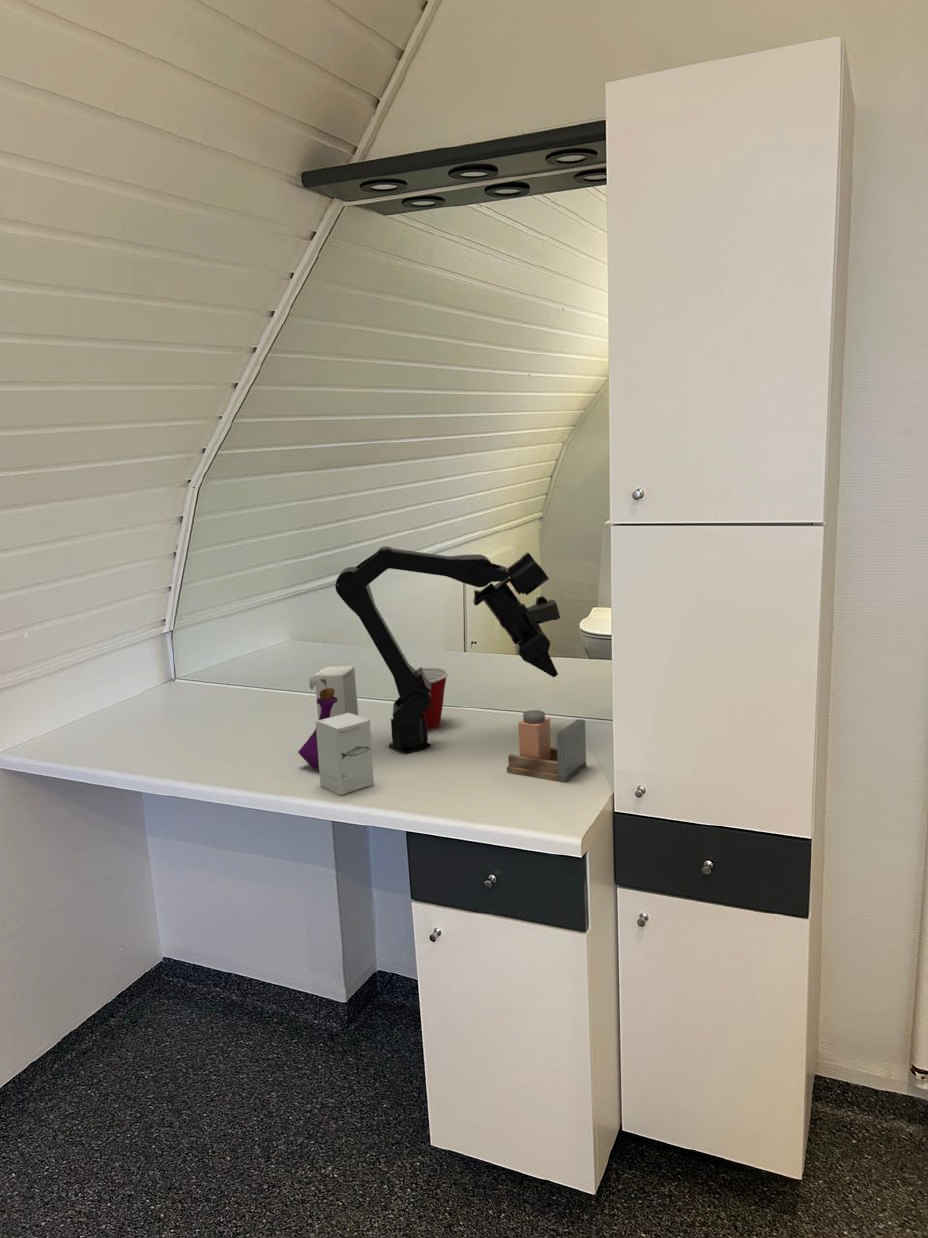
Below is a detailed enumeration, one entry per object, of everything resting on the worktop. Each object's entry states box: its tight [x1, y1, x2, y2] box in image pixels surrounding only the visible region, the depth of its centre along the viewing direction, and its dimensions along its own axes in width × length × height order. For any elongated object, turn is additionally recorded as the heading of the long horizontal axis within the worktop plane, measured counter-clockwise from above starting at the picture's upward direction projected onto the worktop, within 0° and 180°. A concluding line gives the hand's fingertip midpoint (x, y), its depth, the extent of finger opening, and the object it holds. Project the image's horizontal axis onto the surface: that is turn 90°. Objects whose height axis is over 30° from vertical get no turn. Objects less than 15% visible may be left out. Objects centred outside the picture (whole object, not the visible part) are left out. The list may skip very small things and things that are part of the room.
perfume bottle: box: [297, 676, 338, 770], centre depth 181 cm, size 8×8×18 cm
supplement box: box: [315, 713, 375, 796], centre depth 171 cm, size 7×7×13 cm
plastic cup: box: [414, 666, 449, 731], centre depth 203 cm, size 11×11×12 cm
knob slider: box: [518, 709, 552, 760], centre depth 175 cm, size 4×5×9 cm
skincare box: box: [313, 665, 359, 721], centre depth 195 cm, size 8×7×16 cm
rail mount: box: [506, 718, 587, 783], centre depth 174 cm, size 12×9×9 cm
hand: (552, 670), depth 190 cm, fingers open, 9 cm apart
